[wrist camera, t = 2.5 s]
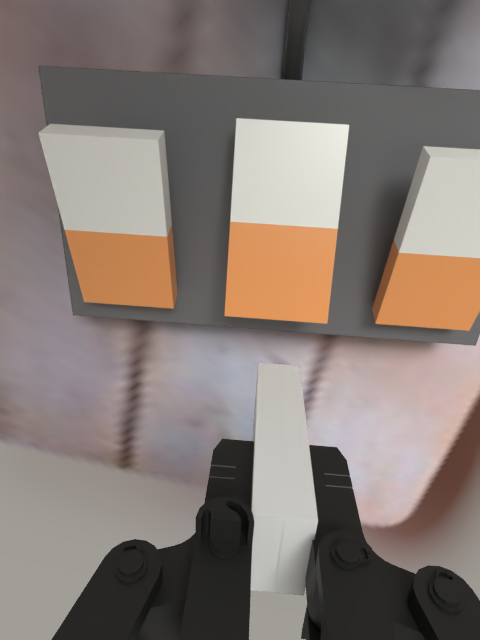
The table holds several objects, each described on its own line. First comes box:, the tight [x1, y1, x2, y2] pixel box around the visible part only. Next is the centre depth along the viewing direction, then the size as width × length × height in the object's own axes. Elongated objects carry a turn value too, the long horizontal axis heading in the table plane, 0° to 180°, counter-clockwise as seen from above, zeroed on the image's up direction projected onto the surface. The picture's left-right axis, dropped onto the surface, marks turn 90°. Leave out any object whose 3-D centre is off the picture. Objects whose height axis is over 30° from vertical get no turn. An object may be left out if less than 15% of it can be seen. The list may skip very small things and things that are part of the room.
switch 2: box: [372, 146, 480, 331], centre depth 21 cm, size 9×5×2 cm, turn 177°
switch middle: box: [225, 118, 349, 324], centre depth 21 cm, size 9×5×2 cm, turn 177°
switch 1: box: [38, 124, 178, 309], centre depth 21 cm, size 9×5×2 cm, turn 177°
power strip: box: [39, 0, 480, 346], centre depth 22 cm, size 22×24×4 cm
